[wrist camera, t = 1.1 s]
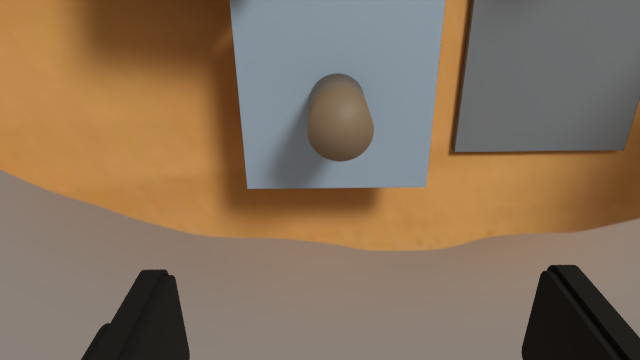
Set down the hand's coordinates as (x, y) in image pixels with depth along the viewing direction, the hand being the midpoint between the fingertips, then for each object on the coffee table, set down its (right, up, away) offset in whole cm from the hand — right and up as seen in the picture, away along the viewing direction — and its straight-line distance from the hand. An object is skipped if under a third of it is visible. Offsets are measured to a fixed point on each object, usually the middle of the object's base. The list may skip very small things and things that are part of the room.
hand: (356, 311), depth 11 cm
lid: (0, +9, +19) cm, 21 cm away
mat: (+17, +12, +23) cm, 31 cm away
